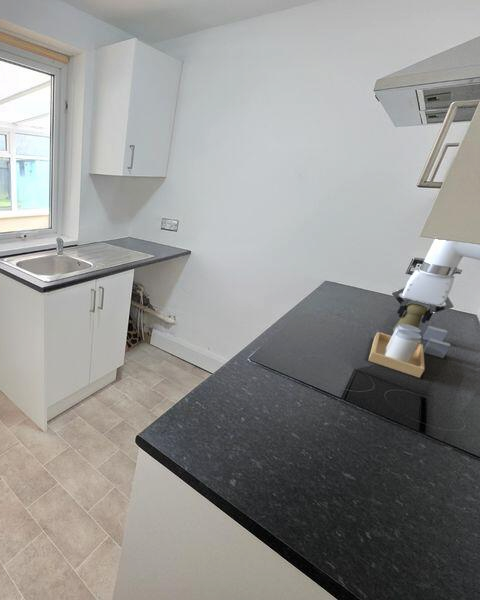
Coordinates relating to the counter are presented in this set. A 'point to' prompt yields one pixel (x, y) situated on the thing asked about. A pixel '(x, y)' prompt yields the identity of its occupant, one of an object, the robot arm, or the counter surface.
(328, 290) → the counter surface
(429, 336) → the grey slab back
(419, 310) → the cork
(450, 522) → the counter surface
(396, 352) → the salt shaker
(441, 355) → the grey slab front
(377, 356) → the shaker tray
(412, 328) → the cylinder
